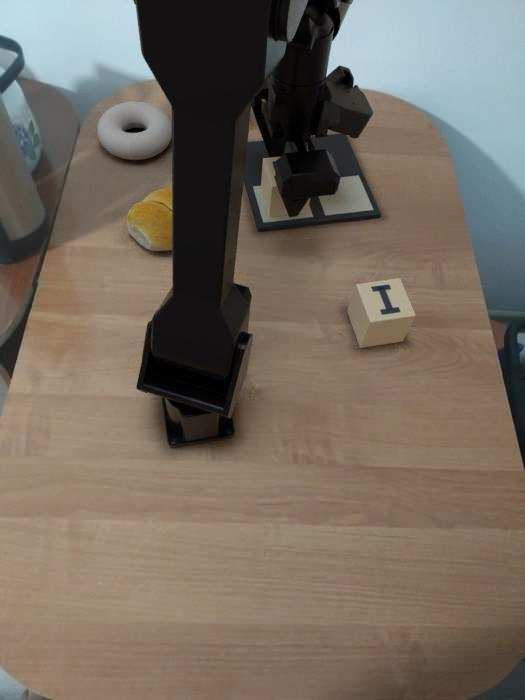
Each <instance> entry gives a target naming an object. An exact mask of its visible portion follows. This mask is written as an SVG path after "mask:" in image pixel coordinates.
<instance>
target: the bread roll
mask: <svg viewBox="0 0 525 700" xmlns="http://www.w3.org/2000/svg"><path fill="white" fill-rule="evenodd" d="M126 226H127V230H128V233H129V234H130V236H131V237H132V238H133V239H134V240H135V241H136V242H137V243H138V244H139V245H141V246H142V247H143V248H145V249H147V250H149V251H151V252H162V251H165V252H166V251H172V187H170V188H163V189H158V190H157V189H156V190H155V191H152V192H151V193H150V194H148V195H147V196H145V197H144V199H142V200H141V201H138V202H136V203H134V204H133V205H132V207H131V208H130V209H129V211H128V213H127V215H126Z"/></svg>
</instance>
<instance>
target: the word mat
mask: <svg viewBox="0 0 525 700" xmlns="http://www.w3.org/2000/svg"><path fill="white" fill-rule="evenodd" d="M311 139H312V142H313V144H314V147H315V149H316V150H323V149H325V150H326V151H328V152H329V153H330V154H331V155H332V157H333V159H334V162H335V164H336V167H337V169H338V171H339V174H340V176H341V178H340V183H339V187H338V191H337V192H336V193H335V194H334V195H327V196H317V197H310V202H309V207H308V213H303V214H299V215H298V216H296V217H289V216H288V215H285V216H276V217H269V215H268V212H267V209H266V205H265V202H264V199H263V195H262V192H261V179H262V166H263V158H269V155H268V152H267V149H266V147H265V144H264V141H263V140H257V141H256V140H255V141H248V142H247V152H246V162H245V172H244V182H243V184H244V187H245V191H246V193H247V197H248V200H249V204H250V206H251V211H252V215H253V218H254V221H255V225H256V229H257V232H266V231H275V230H284V229H291V228H300V227H309V226H317V225H325V224H335V223H343V222H344V223H345V222H352V221H361V220H369V219H376V218H377V219H378V218H381V214H382V213H381V210H380V208H379V207H378V204H377V201H376V199H375V197H374V195H373V193H372V190H371V187H370V186H369V184H368V181H367V179H366V177H365V175H364V172H363V170H362V167H361V165H360V163H359V161H358V159H357V156H356V154H355V152H354V149H353V147H352V145H351V143H350V140H349V138H348V135H345V134H341V133H333V134H327V137H323V138H316V137H315V135H313V136H311ZM291 152H292V150H291V147H290V144H289V142H287V143H286V147H285V151H284V153H291Z"/></svg>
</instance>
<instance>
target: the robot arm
mask: <svg viewBox="0 0 525 700" xmlns="http://www.w3.org/2000/svg"><path fill="white" fill-rule="evenodd" d="M132 1H133V3H134V5H135V11H136V20H137V28H138V37H139V44H140V51H141V55H142V58H143V59H144V61H145V63H146V65H147V66H148V68H149V70H150V72H151V73H152V75H153V77H154V79H155V80H156V82H157V84H158V85H159V87H160V90H162V92H163V94H164V96H165V97H166V99H167V101H168V102H169V104H170V107H171V124H172V138H171V188H172V250H171V251H172V253H171V254H172V257H171V259H172V260H171V261H172V262H171V263H172V286H171V288H170V289H169V291H168V293H167V294H166V295H165V298H164V299H163V301H162V302H161V304H160V305H159V307H158V309H157V310H156V311H155V313H154V314H153V315H152V318H151V320H149V321H148V322H147V324H146V329H145V334H144V335H145V336H144V341H143V346H142V353H141V364H140V368H139V373H138V377H137V382H136V386H135V387H136V390H137V391H139V392H141V393H144V394H151V395H154V396H158V397H161V401H162V409H163V416H164V424H165V432H166V439H167V445H168V446H169V448H172V449H174V448H175V449H176V448H180V447H186V446H193V445H197V444H198V445H199V444H202V443H203V444H204V443H209V442H215V441H219V440H220V441H221V440H226V439H231V438H233V437H235V435H236V429H235V425H234V420H233V414H234V413H233V412H234V410H235V407H236V405H237V402H238V399H239V397H240V393H241V391H242V388H243V385H244V384H245V380H246V377H247V373H248V368H249V363H250V357H251V352H252V347H253V341H254V334H253V333H249V326H250V313H251V304H252V298H253V296H252V295H253V294H252V292H251V290H250V287H249V286H246V285H243V284H239V283H235V282H234V281H235V268H236V259H237V250H238V240H239V230H240V219H241V213H242V212H241V211H242V201H243V189H244V172H245V162H246V152H247V142H249V131H250V121H251V113H253V116H254V119H255V122H256V124H257V127H258V130H259V132H260V136H261V138H262V141H264V144H265V147H266V149H267V152H268V155H269V158H271V157H280V158H279V159H277V160H276V163H275V175H276V176H274V178H275V181H276V184H277V188H278V191H279V194H280V195H281V198H282V200H283V203H284V205H285V208H286V210H287V213H288V216H289V217H296V216H298V215H299V213H300V212H301V210H302V209H303V207H304V206H305V204H306V203H307V201H308V200H309V199H310V197H317V196H327V195H334V194H335V193H336V192H337V191H338V187H339V183H340V178H341V176H340V174H339V171H338V169H337V167H336V164H335V162H334V159H333V157H332V155H331V154H330V153H329V152H328V151H326V150H325V149H323V150H316V149H315V147H314V144H313V142H312V139H311V136H315V137H316V138H323V137H327V135H328V132H329V131H331V132H334V133H336V134H345V135H346V136H349V138H352V139H359V138H360V136H361V134H362V133H363V131H364V130H365V128H366V127H367V125H368V123H369V122H370V120H371V118H372V117H373V115H374V110H373V108H372V107H371V104H370V103H369V100H368V98H367V97H366V94H365V93H364V92H363V91H362V90H361V89H360V87H359V85H357V84H354V83H355V77H354V75H353V73H352V71H351V69H350V68H349V67H347V66H344V65H338V66H337V67H336V68H335V69H333V70H332V71H331V72H330V73H328V67H329V61H330V55H331V50H332V44H333V41H334V40H335V39H336V37H337V35H338V34H339V32H340V30H341V27H342V25H343V23H344V20H345V18H346V15H347V13H348V11H349V9H350V6H351V5H352V4H353V2H354V0H132ZM327 73H328V74H327ZM287 142H289V144H290V147H291V150H292V152H291V153H284V151H285V147H286V143H287ZM229 431H230V432H231V433H228V432H229ZM172 442H174V443H172Z"/></svg>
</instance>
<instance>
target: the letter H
mask: <svg viewBox="0 0 525 700" xmlns="http://www.w3.org/2000/svg"><path fill="white" fill-rule="evenodd" d="M279 158H280V157H271V158H263V166H262V179H261V192H262V195H263V199H264V202H265V205H266V209H267V212H268V215H269V217H276V216H285V215H288V213H287V210H286V208H285V205H284V203H283V200H282V198H281V195H280V194H279V191H278V188H277V184H276V181H275V178H274V176H276V175H275V163H276V160H277V159H279ZM309 202H310V199H309V200H308V201H307V203H306V204H305V206H304V207H303V209H302V210H301V212H300V213H299V214H303V213H308V207H309Z"/></svg>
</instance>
